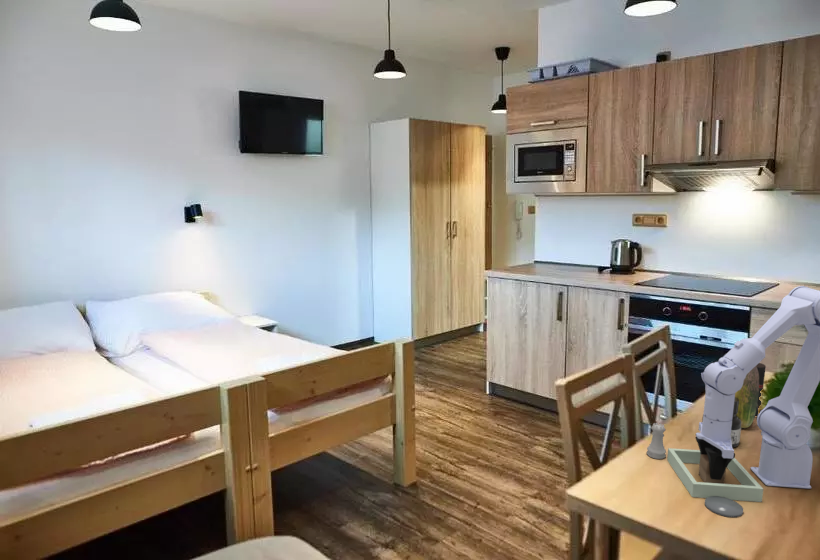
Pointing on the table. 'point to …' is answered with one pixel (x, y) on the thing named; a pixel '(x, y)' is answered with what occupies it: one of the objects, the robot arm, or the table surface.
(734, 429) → the ink bottle
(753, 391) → the vegetable
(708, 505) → the coaster
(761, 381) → the deodorant
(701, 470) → the block
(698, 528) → the table surface
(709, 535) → the table surface
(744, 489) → the green rectangular frame
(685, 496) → the table surface
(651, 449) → the rook chess piece
